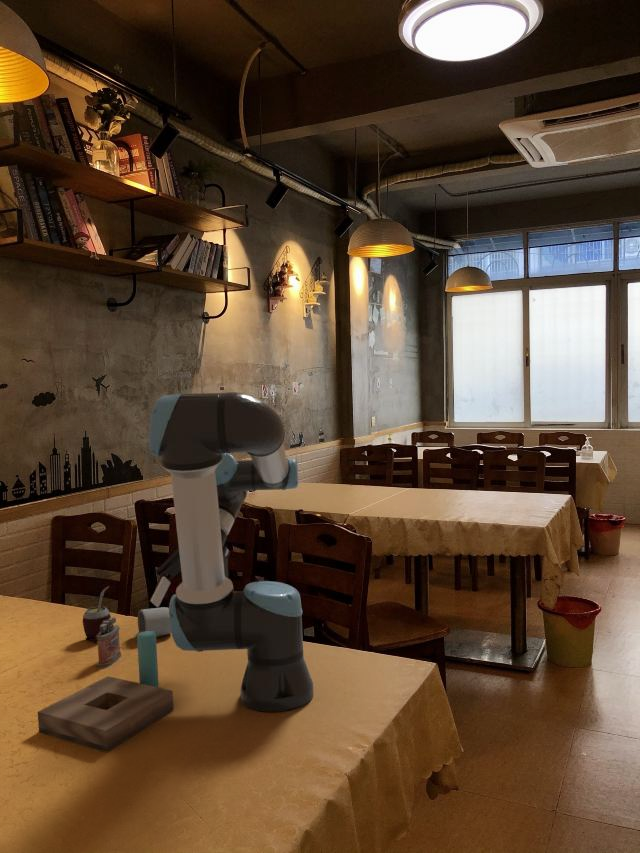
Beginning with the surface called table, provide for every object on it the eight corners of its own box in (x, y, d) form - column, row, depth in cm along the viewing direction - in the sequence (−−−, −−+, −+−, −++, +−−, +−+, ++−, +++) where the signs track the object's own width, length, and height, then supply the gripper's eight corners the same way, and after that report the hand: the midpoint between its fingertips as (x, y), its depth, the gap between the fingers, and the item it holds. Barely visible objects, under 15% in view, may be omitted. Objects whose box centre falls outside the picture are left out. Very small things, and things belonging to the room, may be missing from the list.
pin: (162, 686, 152) (159, 632, 152) (149, 693, 149) (146, 638, 148) (148, 683, 154) (145, 630, 154) (136, 690, 151) (132, 636, 150)
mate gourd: (87, 635, 187) (84, 580, 186) (117, 633, 188) (114, 578, 187) (80, 645, 180) (77, 588, 179) (112, 643, 181) (108, 586, 180)
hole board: (173, 709, 141) (172, 690, 140) (107, 752, 125) (105, 730, 125) (108, 694, 149) (107, 676, 149) (38, 732, 134) (37, 711, 133)
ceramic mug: (176, 636, 184) (174, 607, 183) (146, 643, 179) (144, 613, 179) (163, 626, 193) (161, 598, 192) (134, 632, 188) (132, 604, 188)
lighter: (108, 668, 164) (105, 626, 164) (94, 667, 165) (92, 625, 164) (124, 654, 172) (121, 615, 171) (111, 654, 173) (109, 614, 172)
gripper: (262, 541, 169) (228, 621, 156) (182, 535, 181) (144, 608, 169) (248, 524, 164) (212, 605, 152) (167, 518, 176) (127, 593, 164)
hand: (176, 607), depth 160 cm, fingers open, 13 cm apart
